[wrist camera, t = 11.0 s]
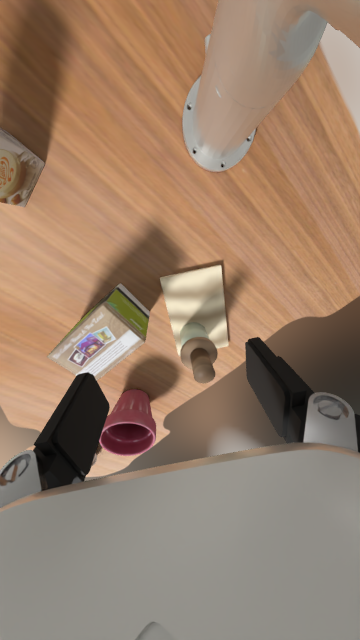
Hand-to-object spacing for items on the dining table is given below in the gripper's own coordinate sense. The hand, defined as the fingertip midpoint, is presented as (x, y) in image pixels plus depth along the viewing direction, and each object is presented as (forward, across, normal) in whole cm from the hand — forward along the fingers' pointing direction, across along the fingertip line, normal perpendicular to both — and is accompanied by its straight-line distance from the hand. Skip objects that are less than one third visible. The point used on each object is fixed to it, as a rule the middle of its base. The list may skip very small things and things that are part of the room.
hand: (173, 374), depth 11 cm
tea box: (+34, +15, +8) cm, 38 cm away
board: (+33, -5, +12) cm, 36 cm away
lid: (+24, -3, +17) cm, 30 cm away
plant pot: (+34, +19, +37) cm, 53 cm away
